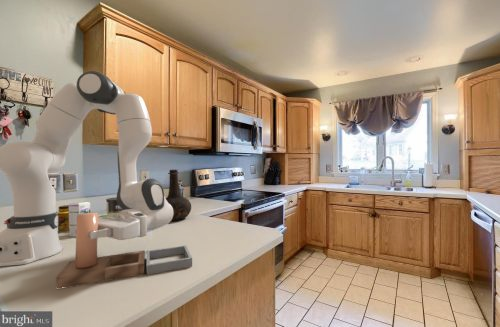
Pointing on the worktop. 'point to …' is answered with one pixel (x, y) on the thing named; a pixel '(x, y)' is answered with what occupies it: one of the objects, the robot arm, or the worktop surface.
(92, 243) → the peach cylinder
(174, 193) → the dark brown vase
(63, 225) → the condiment
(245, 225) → the worktop surface
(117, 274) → the partly covered box
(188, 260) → the grey square frame
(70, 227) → the syrup box
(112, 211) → the coffee can
